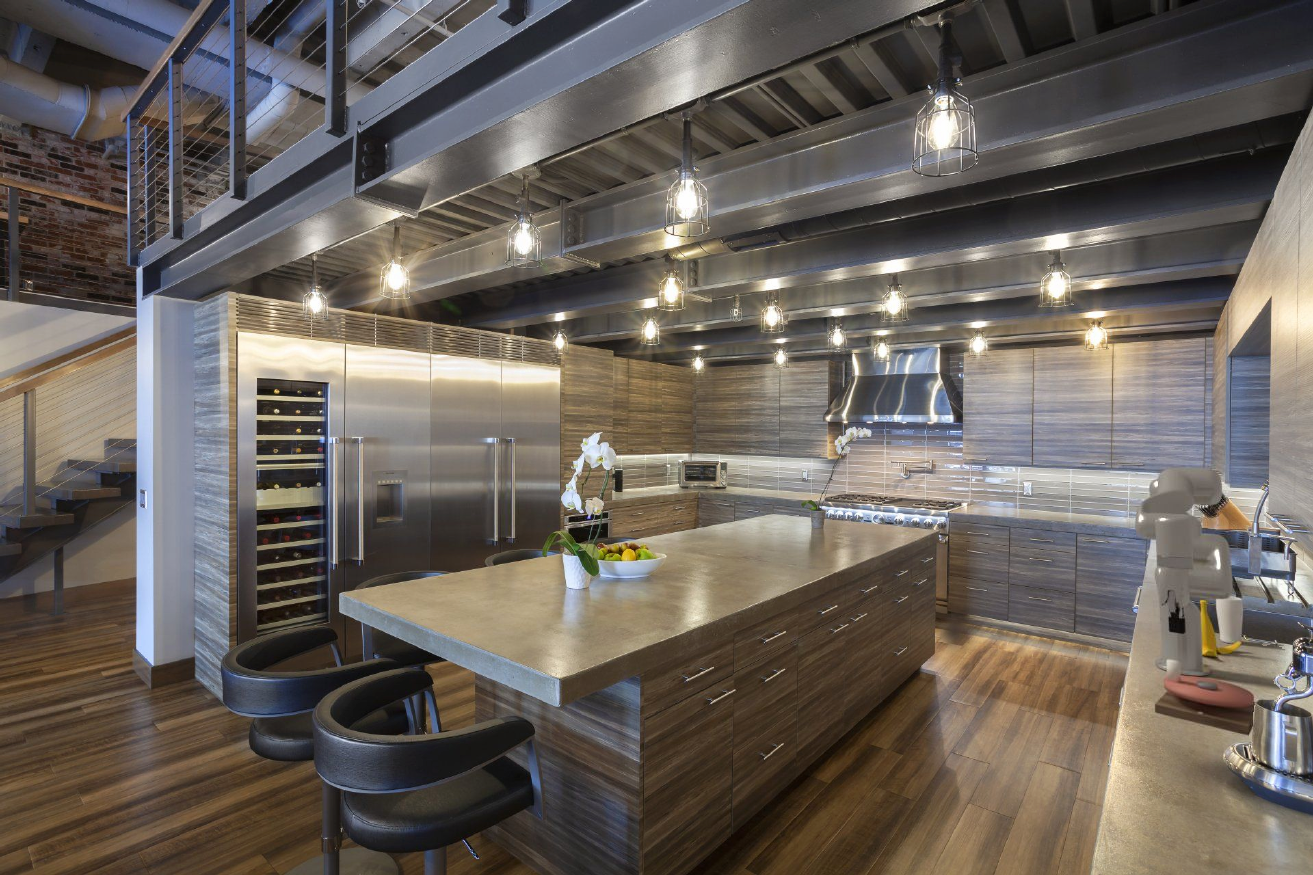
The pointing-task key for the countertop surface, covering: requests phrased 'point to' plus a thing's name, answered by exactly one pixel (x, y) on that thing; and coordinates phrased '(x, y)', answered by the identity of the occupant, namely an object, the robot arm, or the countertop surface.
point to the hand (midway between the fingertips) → (1177, 632)
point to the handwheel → (1205, 689)
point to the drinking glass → (1230, 619)
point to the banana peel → (1211, 636)
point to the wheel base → (1207, 713)
